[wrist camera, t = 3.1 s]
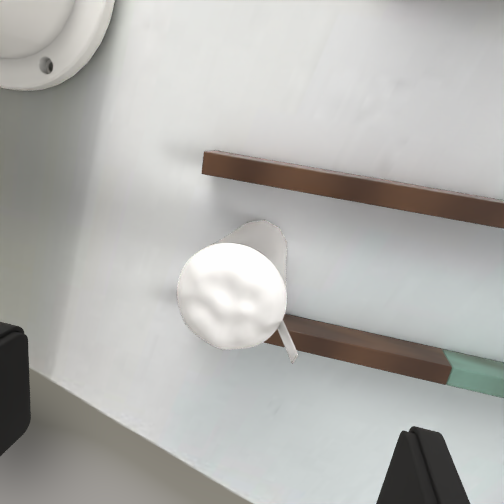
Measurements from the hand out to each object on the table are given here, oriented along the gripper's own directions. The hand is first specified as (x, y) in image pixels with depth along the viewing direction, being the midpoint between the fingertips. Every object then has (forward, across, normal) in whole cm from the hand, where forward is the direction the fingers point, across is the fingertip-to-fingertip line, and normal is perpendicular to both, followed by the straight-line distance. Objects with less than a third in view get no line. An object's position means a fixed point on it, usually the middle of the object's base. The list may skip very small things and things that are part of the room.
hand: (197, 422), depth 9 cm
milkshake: (+15, 0, 0) cm, 15 cm away
